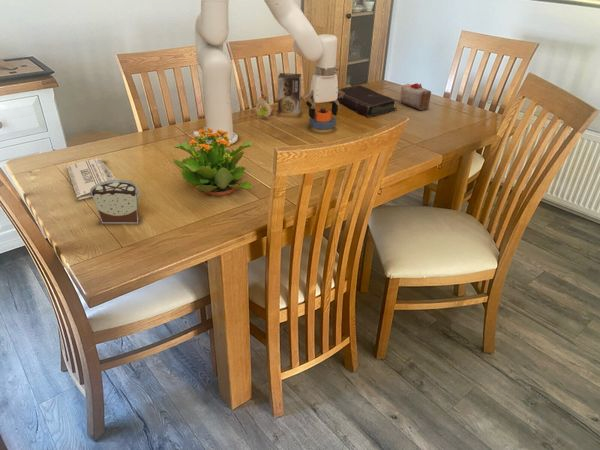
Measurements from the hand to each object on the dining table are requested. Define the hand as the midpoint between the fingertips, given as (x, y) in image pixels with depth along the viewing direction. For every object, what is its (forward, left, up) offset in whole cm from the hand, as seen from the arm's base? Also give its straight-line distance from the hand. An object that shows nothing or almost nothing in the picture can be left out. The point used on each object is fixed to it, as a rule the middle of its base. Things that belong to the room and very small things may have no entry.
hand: (323, 116), depth 181 cm
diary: (+30, +18, -5) cm, 35 cm away
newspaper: (-85, -12, -5) cm, 86 cm away
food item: (+52, +10, -5) cm, 53 cm away
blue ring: (0, 0, -4) cm, 4 cm away
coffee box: (-5, +20, -5) cm, 21 cm away
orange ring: (0, 0, -1) cm, 1 cm away
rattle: (-15, +20, -5) cm, 26 cm away
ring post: (0, 0, -5) cm, 5 cm away
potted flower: (-52, -33, -5) cm, 62 cm away
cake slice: (-80, -38, -5) cm, 89 cm away
